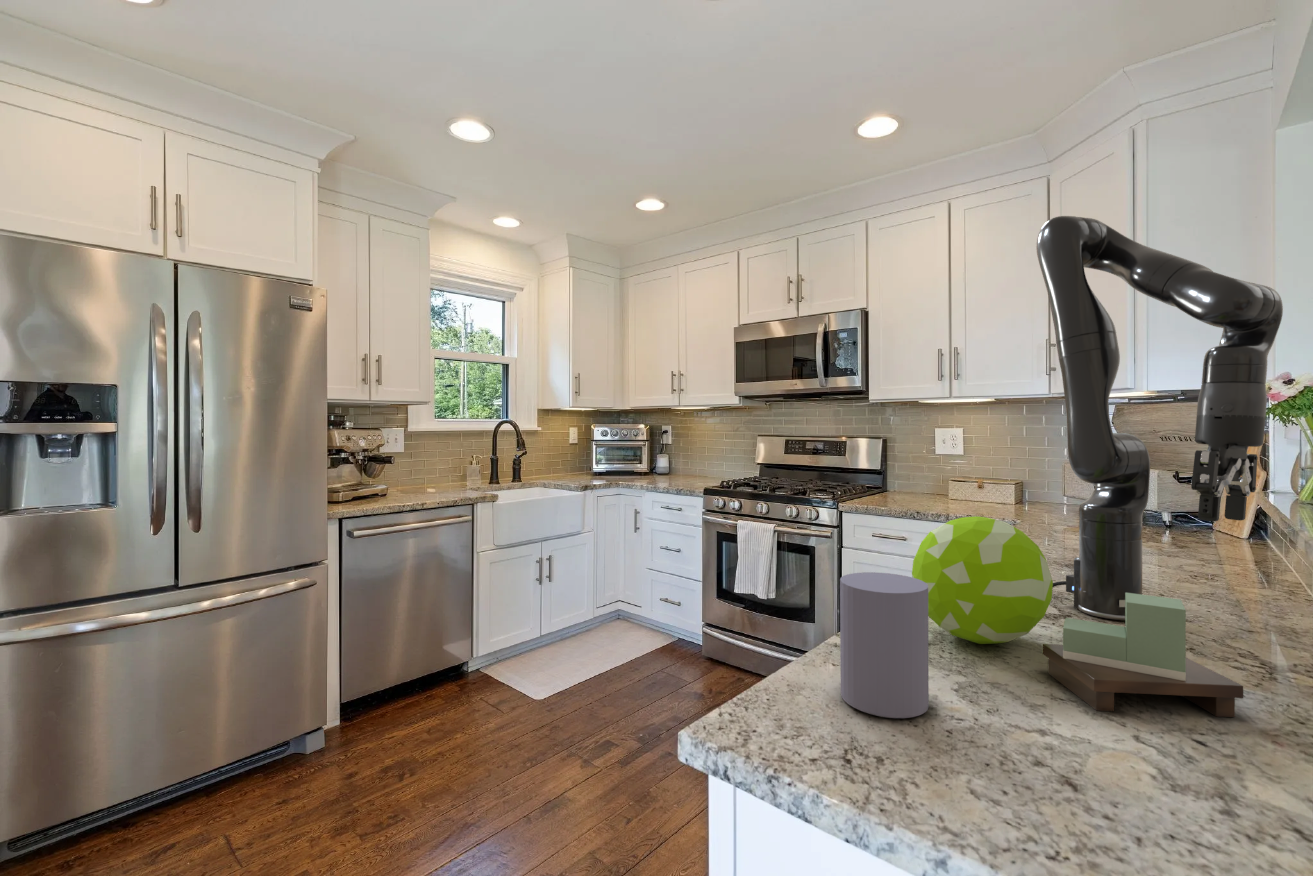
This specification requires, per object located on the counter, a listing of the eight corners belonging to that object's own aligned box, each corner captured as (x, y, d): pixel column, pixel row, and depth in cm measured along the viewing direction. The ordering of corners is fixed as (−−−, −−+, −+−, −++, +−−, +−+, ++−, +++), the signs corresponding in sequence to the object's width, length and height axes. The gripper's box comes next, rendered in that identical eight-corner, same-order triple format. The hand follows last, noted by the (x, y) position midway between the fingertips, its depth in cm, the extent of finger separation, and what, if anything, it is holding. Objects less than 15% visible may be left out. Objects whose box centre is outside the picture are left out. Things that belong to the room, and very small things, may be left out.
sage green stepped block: (1180, 666, 74) (1181, 599, 74) (1185, 681, 70) (1185, 610, 70) (1065, 645, 82) (1065, 584, 81) (1063, 658, 77) (1063, 593, 77)
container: (887, 728, 67) (887, 597, 67) (823, 693, 76) (822, 578, 76) (947, 708, 72) (947, 586, 72) (880, 677, 81) (879, 569, 81)
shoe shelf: (1094, 712, 71) (1094, 679, 71) (1042, 672, 83) (1042, 643, 82) (1243, 719, 69) (1243, 685, 69) (1168, 677, 80) (1168, 648, 80)
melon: (1074, 635, 97) (1074, 514, 97) (1025, 678, 80) (1025, 532, 80) (948, 609, 112) (948, 504, 112) (885, 640, 95) (885, 517, 95)
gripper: (1220, 417, 96) (1212, 515, 96) (1176, 410, 90) (1167, 516, 90) (1284, 417, 89) (1275, 524, 90) (1241, 411, 83) (1232, 525, 83)
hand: (1221, 520), depth 90 cm, fingers open, 8 cm apart
